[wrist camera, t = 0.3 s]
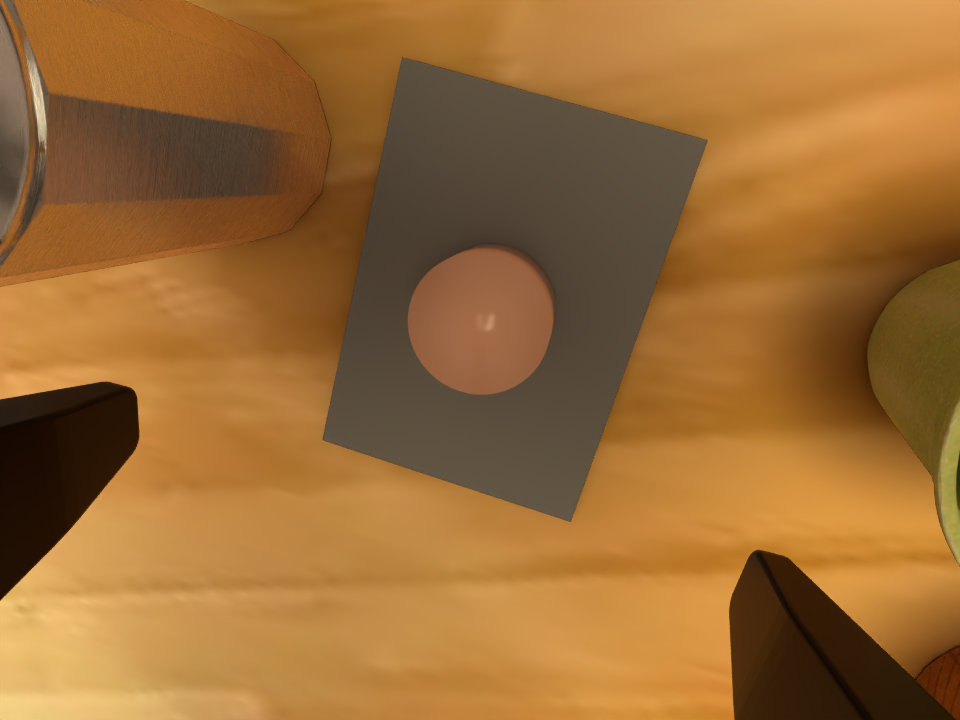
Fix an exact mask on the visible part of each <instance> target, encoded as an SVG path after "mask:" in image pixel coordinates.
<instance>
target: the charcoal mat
mask: <svg viewBox="0 0 960 720" xmlns="http://www.w3.org/2000/svg"><path fill="white" fill-rule="evenodd" d="M707 141H708V140H705V139H702V138H698V137H694V136H691V135H687V134H683V133H680V132H676V131H672V130H669V129H665V128H661V127H657V126H654V125H650V124H646V123H643V122H639V121H635V120H632V119H628V118H624V117H621V116H617V115H613V114H610V113H606V112H602V111H599V110H595V109H591V108H587V107H584V106H580V105H576V104H573V103H569V102H565V101H562V100H558V99H554V98H551V97H547V96H543V95H540V94H536V93H532V92H529V91H525V90H521V89H517V88H514V87H510V86H506V85H503V84H499V83H495V82H492V81H488V80H484V79H481V78H477V77H473V76H470V75H466V74H462V73H459V72H455V71H451V70H447V69H444V68H440V67H436V66H433V65H429V64H425V63H422V62H418V61H414V60H411V59H407V58H403V57H402V61H401V66H400V71H399V75H398V80H397V85H396V90H395V94H394V99H393V104H392V109H391V114H390V118H389V123H388V128H387V133H386V138H385V142H384V147H383V152H382V157H381V162H380V166H379V171H378V176H377V181H376V186H375V190H374V195H373V200H372V205H371V210H370V214H369V219H368V224H367V229H366V234H365V238H364V243H363V248H362V253H361V258H360V262H359V267H358V272H357V277H356V282H355V286H354V291H353V296H352V301H351V305H350V310H349V315H348V320H347V325H346V329H345V334H344V339H343V344H342V349H341V353H340V358H339V363H338V368H337V373H336V377H335V382H334V387H333V392H332V397H331V401H330V406H329V411H328V416H327V421H326V425H325V430H324V435H323V441H326V442H330V443H333V444H336V445H339V446H342V447H345V448H348V449H351V450H354V451H357V452H360V453H363V454H366V455H369V456H372V457H375V458H378V459H381V460H384V461H387V462H390V463H393V464H396V465H399V466H402V467H405V468H408V469H411V470H414V471H417V472H420V473H424V474H427V475H430V476H433V477H436V478H439V479H442V480H445V481H448V482H451V483H454V484H457V485H460V486H463V487H466V488H469V489H472V490H475V491H478V492H481V493H484V494H487V495H490V496H493V497H496V498H499V499H502V500H505V501H508V502H511V503H514V504H517V505H521V506H524V507H527V508H530V509H533V510H536V511H539V512H542V513H545V514H548V515H551V516H554V517H557V518H560V519H563V520H566V521H569V522H571V520H572V517H573V514H574V512H575V509H576V506H577V503H578V500H579V498H580V495H581V492H582V489H583V486H584V484H585V481H586V478H587V475H588V473H589V470H590V467H591V464H592V461H593V459H594V456H595V453H596V450H597V447H598V445H599V442H600V439H601V436H602V433H603V431H604V428H605V425H606V422H607V420H608V417H609V414H610V411H611V408H612V406H613V403H614V400H615V397H616V394H617V392H618V389H619V386H620V383H621V381H622V378H623V375H624V372H625V369H626V367H627V364H628V361H629V358H630V355H631V353H632V350H633V347H634V344H635V341H636V339H637V336H638V333H639V330H640V328H641V325H642V322H643V319H644V316H645V314H646V311H647V308H648V305H649V302H650V300H651V297H652V294H653V291H654V289H655V286H656V283H657V280H658V277H659V275H660V272H661V269H662V266H663V263H664V261H665V258H666V255H667V252H668V249H669V247H670V244H671V241H672V238H673V236H674V233H675V230H676V227H677V224H678V222H679V219H680V216H681V213H682V210H683V208H684V205H685V202H686V199H687V197H688V194H689V191H690V188H691V185H692V183H693V180H694V177H695V174H696V171H697V169H698V166H699V163H700V160H701V157H702V155H703V152H704V149H705V146H706V144H707ZM492 243H495V244H504V245H508V246H512V247H514V248H517V249H519V250H521V251H523V252H525V253H527V254H528V255H529V256H531V257H532V258H533V259H534V260H536V261H537V262H538V263H539V264H540V266H541V267H542V268H543V269H544V270H545V272H546V274H547V275H548V277H549V279H550V281H551V283H552V285H553V289H554V292H555V297H556V318H555V322H554V326H553V330H552V333H551V337H550V340H549V344H548V347H547V350H546V352H545V355H544V357H543V359H542V361H541V362H540V364H539V365H538V367H537V368H536V369H535V371H534V372H533V373H532V374H531V375H530V376H529V377H528V378H527V379H525V380H524V381H523V382H521V383H520V384H518V385H517V386H515V387H513V388H511V389H508V390H506V391H503V392H499V393H495V394H488V395H476V394H468V393H464V392H461V391H458V390H455V389H453V388H450V387H448V386H447V385H445V384H443V383H441V382H440V381H439V380H437V379H436V378H435V377H434V376H432V375H431V374H430V373H429V372H428V371H427V370H426V368H425V367H424V366H423V365H422V363H421V362H420V360H419V359H418V357H417V355H416V353H415V351H414V349H413V346H412V344H411V341H410V336H409V331H408V311H409V305H410V302H411V299H412V296H413V294H414V291H415V289H416V287H417V286H418V284H419V283H420V281H421V280H422V279H423V277H424V276H425V275H426V274H427V273H428V272H429V271H430V270H431V269H432V268H433V267H435V266H436V265H438V264H439V263H441V262H442V261H444V260H446V259H448V258H450V257H452V256H454V255H456V254H458V253H460V252H462V251H464V250H466V249H468V248H470V247H473V246H476V245H481V244H492Z"/></svg>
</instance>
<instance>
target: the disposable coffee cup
mask: <svg viewBox="0 0 960 720" xmlns="http://www.w3.org/2000/svg"><path fill="white" fill-rule="evenodd" d="M916 681H917V682H918V683H919V684H920V685H921V686H922V687H923V688H924V689H925V690H926V691H927V692H928V693H929V694H930V695H931V696H932V697H933V698H935V699H936V700H937V701H938V702H939V703H940V704H941V705H942V706H943V707H944V708H945V709H946V710H947V711H948V712H949V713H950V714H951V715H952V716H953V717H954V718H955V719H956V720H960V647H958V648H955V649H953V650H952V651H950V652H948V653H946V654H945V655H943V656H941V657H939V658H938V659H936V660H935V661H934V662H933V663H931V664H930V665H929V666H928V667H926V669H925V670H924V671H923V672H922V673H921V675H920V676H919V677H918V678H917V679H916Z"/></svg>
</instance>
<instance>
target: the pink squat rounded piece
mask: <svg viewBox="0 0 960 720" xmlns="http://www.w3.org/2000/svg"><path fill="white" fill-rule="evenodd" d="M555 318H556V297H555V292H554V289H553V285H552V283H551V281H550V279H549V277H548V275H547V274H546V272H545V270H544V269H543V268H542V267H541V266H540V264H539V263H538V262H537V261H536V260H534V259H533V258H532V257H531V256H529V255H528V254H527V253H525V252H523V251H521V250H519V249H517V248H514V247H512V246H508V245H504V244H495V243H492V244H481V245H476V246H473V247H470V248H468V249H466V250H464V251H462V252H460V253H458V254H456V255H454V256H452V257H450V258H448V259H446V260H444V261H442V262H441V263H439V264H438V265H436V266H435V267H433V268H432V269H431V270H430V271H429V272H428V273H427V274H426V275H425V276H424V277H423V279H422V280H421V281H420V283H419V284H418V286H417V287H416V289H415V291H414V294H413V296H412V299H411V302H410V305H409V311H408V331H409V336H410V341H411V344H412V346H413V349H414V351H415V353H416V355H417V357H418V359H419V360H420V362H421V363H422V365H423V366H424V367H425V368H426V370H427V371H428V372H429V373H430V374H431V375H432V376H434V377H435V378H436V379H437V380H439V381H440V382H441V383H443V384H445V385H447V386H448V387H450V388H453V389H455V390H458V391H461V392H464V393H468V394H476V395H488V394H495V393H499V392H503V391H506V390H508V389H511V388H513V387H515V386H517V385H518V384H520V383H521V382H523V381H524V380H525V379H527V378H528V377H529V376H530V375H531V374H532V373H533V372H534V371H535V369H536V368H537V367H538V365H539V364H540V362H541V361H542V359H543V357H544V355H545V352H546V350H547V347H548V344H549V340H550V337H551V333H552V330H553V326H554V322H555Z"/></svg>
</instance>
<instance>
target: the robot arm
mask: <svg viewBox="0 0 960 720" xmlns="http://www.w3.org/2000/svg"><path fill="white" fill-rule="evenodd" d="M138 441H139V420H138V404H137V395H136V393H135V391H134V390H133V389H132V388H130V387H127V386H123V385H119V384H115V383H111V382H98V383H93V384H87V385H81V386H75V387H70V388H64V389H58V390H52V391H47V392H41V393H35V394H29V395H24V396H18V397H12V398H6V399H1V400H0V600H1V599H2V598H3V597H4V596H5V595H6V594H7V593H8V592H9V591H10V590H11V589H12V588H13V587H14V586H15V585H16V584H17V583H18V582H19V581H20V580H21V579H22V578H23V577H24V576H25V575H26V574H27V573H28V572H29V571H30V570H31V569H32V568H33V567H34V566H35V565H36V564H37V563H38V562H39V561H40V560H41V559H42V558H43V557H44V556H45V555H46V554H47V553H48V552H49V551H50V550H51V549H52V548H53V547H54V546H55V545H56V544H57V543H58V542H59V541H60V540H61V539H62V538H63V537H64V535H65V534H66V533H67V532H68V531H69V530H70V529H71V528H72V527H73V525H74V524H75V523H76V522H77V521H78V520H79V518H80V517H81V516H82V515H83V514H84V512H85V511H86V510H87V509H88V507H89V506H90V505H91V504H92V503H93V501H94V500H95V499H96V498H97V496H98V495H99V494H100V493H101V492H102V490H103V489H104V488H105V487H106V485H107V484H108V483H109V482H110V481H111V479H112V478H113V477H114V476H115V474H116V473H117V472H118V471H119V470H120V468H121V467H122V466H123V465H124V463H125V462H126V461H127V460H128V459H129V457H130V456H131V455H132V454H133V452H134V451H135V449H136V447H137V444H138ZM729 620H730V642H731V663H732V685H733V706H734V720H956V719H955V718H954V717H953V716H952V715H951V714H950V713H949V712H948V711H947V710H946V709H945V708H944V707H943V706H942V705H941V704H940V703H939V702H938V701H937V700H936V699H935V698H933V697H932V696H931V695H930V694H929V693H928V692H927V691H926V690H925V689H924V688H923V687H922V686H921V685H920V684H919V683H918V682H917V681H916V680H915V679H914V678H913V677H912V676H911V675H910V674H908V673H907V672H906V671H905V670H904V669H903V668H902V667H901V666H900V665H899V664H898V663H897V662H896V661H895V660H894V659H893V658H892V657H891V656H890V655H889V654H888V653H887V652H886V651H885V650H884V649H882V648H881V647H880V646H879V645H878V644H877V643H876V642H875V641H874V640H873V639H872V638H871V637H870V636H869V635H868V634H867V633H866V632H865V631H864V630H863V629H862V628H861V627H860V626H859V625H857V624H856V623H855V622H854V621H853V620H852V619H851V618H850V617H849V616H848V615H847V614H846V613H845V612H844V611H843V610H842V609H841V608H840V607H839V606H838V605H837V604H836V603H835V602H834V601H833V600H831V599H830V598H829V597H828V596H827V595H826V594H825V593H824V592H823V591H822V590H821V589H820V588H819V587H818V586H817V585H816V584H815V583H814V582H813V581H812V580H811V579H810V578H809V577H808V576H806V575H805V574H804V573H803V572H802V571H801V570H800V569H799V568H798V567H797V566H796V565H795V564H794V563H793V562H792V561H791V560H790V559H789V558H787V557H785V556H782V555H778V554H774V553H770V552H766V551H762V550H756V551H754V552H752V554H751V555H750V556H749V558H748V560H747V562H746V564H745V567H744V569H743V571H742V574H741V576H740V578H739V580H738V583H737V585H736V587H735V589H734V592H733V594H732V597H731V601H730V608H729Z"/></svg>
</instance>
